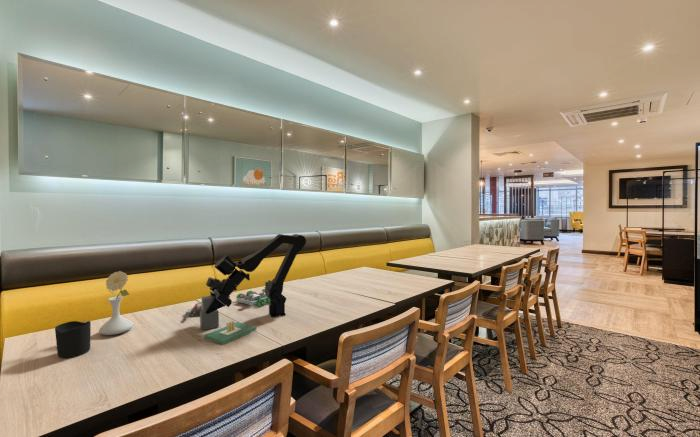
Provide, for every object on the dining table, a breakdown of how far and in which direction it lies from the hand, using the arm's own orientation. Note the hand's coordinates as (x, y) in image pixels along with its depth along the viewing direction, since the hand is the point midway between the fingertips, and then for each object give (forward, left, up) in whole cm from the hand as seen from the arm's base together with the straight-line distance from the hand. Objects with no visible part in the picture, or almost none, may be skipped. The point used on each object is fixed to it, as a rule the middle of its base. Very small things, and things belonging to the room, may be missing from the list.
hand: (205, 311), depth 137 cm
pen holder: (+42, +8, -7) cm, 43 cm away
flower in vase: (+33, -8, -7) cm, 34 cm away
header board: (-9, +11, -7) cm, 16 cm away
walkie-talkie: (+4, -20, -7) cm, 22 cm away
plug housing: (-1, 0, -7) cm, 7 cm away
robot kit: (-27, -32, -7) cm, 42 cm away
